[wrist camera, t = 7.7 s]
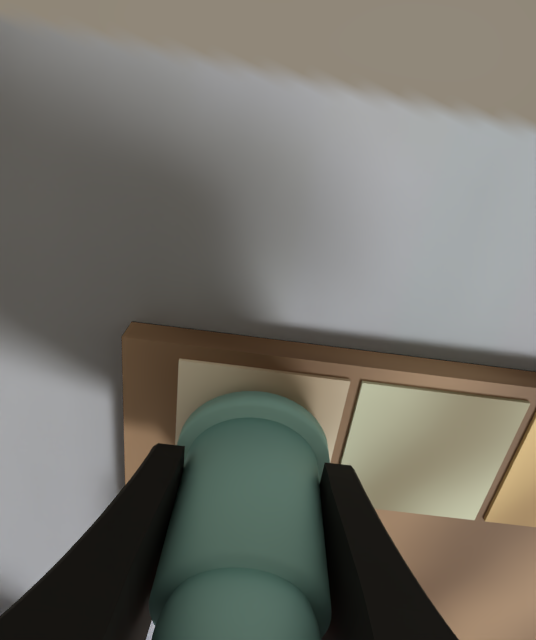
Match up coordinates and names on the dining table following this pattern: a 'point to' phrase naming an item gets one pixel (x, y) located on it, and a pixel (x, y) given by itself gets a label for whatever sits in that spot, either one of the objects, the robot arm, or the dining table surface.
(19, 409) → the dining table surface
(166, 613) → the pawn
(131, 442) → the game board
